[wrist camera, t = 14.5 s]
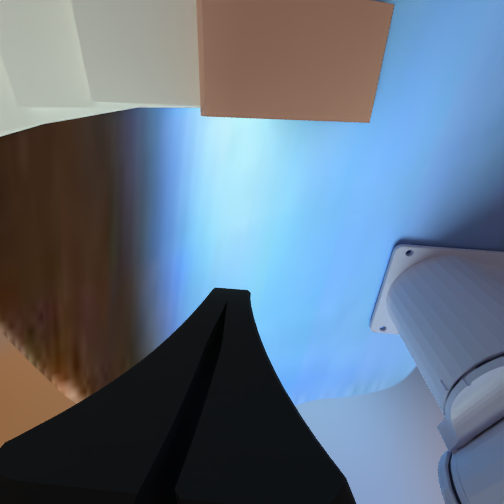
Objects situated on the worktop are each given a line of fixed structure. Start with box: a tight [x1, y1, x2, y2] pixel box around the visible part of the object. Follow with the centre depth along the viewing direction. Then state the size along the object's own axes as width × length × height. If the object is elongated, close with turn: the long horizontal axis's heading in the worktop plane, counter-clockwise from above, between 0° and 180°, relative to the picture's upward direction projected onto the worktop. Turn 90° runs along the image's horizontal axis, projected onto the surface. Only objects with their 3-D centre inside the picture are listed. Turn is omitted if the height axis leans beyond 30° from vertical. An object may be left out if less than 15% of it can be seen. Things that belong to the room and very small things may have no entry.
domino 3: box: [0, 0, 201, 108], centre depth 13 cm, size 2×5×9 cm
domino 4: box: [0, 56, 137, 131], centre depth 14 cm, size 2×5×9 cm
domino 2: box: [71, 0, 200, 106], centre depth 13 cm, size 2×5×9 cm
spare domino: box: [196, 0, 394, 123], centre depth 13 cm, size 2×5×9 cm
